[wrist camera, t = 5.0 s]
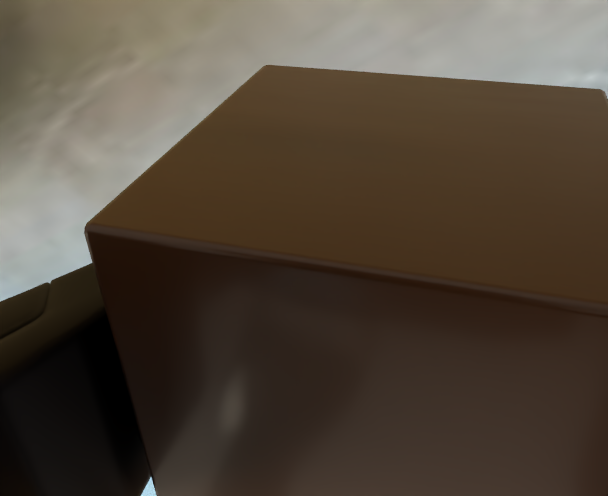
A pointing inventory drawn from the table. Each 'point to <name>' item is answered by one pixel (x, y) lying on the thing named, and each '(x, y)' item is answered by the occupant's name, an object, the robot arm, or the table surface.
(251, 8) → the table surface
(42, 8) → the table surface
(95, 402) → the robot arm
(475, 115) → the block
